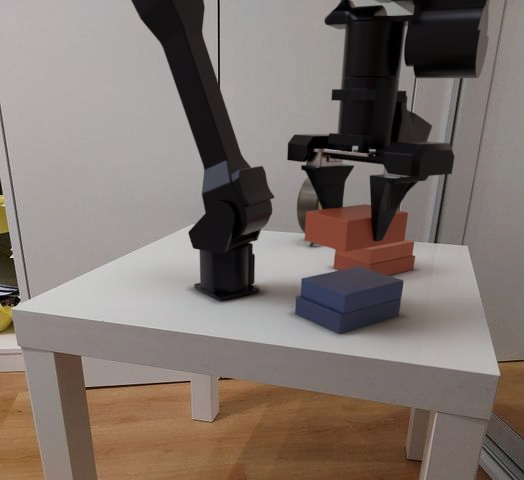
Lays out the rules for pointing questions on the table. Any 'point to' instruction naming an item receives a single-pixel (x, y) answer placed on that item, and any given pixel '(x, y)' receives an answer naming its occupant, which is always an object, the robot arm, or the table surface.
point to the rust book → (350, 228)
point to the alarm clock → (306, 203)
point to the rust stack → (379, 258)
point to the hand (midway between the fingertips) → (355, 235)
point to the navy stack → (349, 298)
